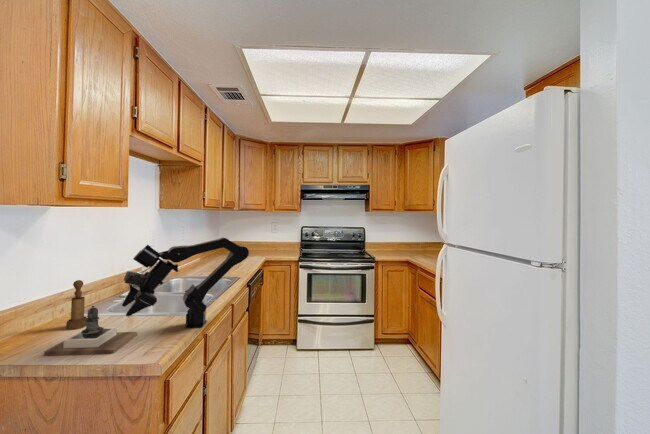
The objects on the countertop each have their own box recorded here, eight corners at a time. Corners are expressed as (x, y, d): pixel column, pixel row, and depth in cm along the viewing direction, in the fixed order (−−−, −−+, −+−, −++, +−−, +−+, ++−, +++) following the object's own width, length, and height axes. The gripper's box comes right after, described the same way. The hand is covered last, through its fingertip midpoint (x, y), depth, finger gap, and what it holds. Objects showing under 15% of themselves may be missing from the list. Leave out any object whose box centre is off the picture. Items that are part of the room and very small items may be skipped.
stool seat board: (137, 335, 105) (137, 325, 105) (113, 353, 91) (113, 341, 91) (77, 336, 103) (78, 326, 103) (44, 355, 89) (44, 343, 89)
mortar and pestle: (84, 328, 110) (85, 281, 110) (62, 330, 107) (63, 282, 107) (90, 322, 116) (91, 278, 116) (70, 324, 114) (71, 279, 114)
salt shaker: (106, 336, 101) (106, 302, 101) (98, 343, 95) (99, 307, 95) (85, 338, 99) (86, 303, 99) (77, 345, 93) (77, 308, 93)
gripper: (134, 257, 110) (100, 291, 105) (143, 270, 97) (106, 310, 91) (158, 272, 117) (128, 305, 111) (170, 286, 103) (137, 325, 98)
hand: (124, 310), depth 103 cm, fingers open, 9 cm apart
